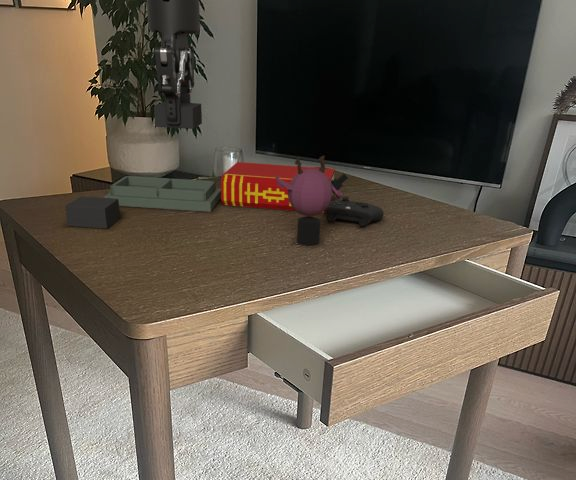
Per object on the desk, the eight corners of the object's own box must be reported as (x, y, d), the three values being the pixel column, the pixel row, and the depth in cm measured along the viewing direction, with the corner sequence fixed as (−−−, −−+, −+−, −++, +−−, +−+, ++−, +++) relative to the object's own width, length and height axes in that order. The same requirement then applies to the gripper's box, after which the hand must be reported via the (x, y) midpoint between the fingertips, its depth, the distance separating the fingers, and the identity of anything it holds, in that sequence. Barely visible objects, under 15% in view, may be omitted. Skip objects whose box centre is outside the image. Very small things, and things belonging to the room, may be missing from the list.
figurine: (343, 239, 89) (350, 154, 83) (323, 254, 83) (330, 164, 77) (294, 231, 92) (298, 148, 86) (271, 244, 86) (273, 156, 80)
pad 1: (67, 226, 90) (64, 205, 88) (83, 215, 95) (80, 196, 93) (107, 228, 89) (104, 208, 88) (120, 218, 94) (118, 198, 93)
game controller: (385, 213, 99) (382, 192, 94) (377, 242, 98) (373, 222, 93) (330, 206, 102) (324, 185, 97) (321, 233, 101) (315, 214, 96)
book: (221, 206, 103) (220, 175, 101) (237, 189, 114) (237, 161, 111) (326, 214, 101) (328, 184, 99) (332, 196, 112) (334, 169, 110)
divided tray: (104, 205, 101) (102, 186, 99) (124, 191, 109) (122, 174, 108) (210, 211, 100) (210, 193, 98) (221, 197, 108) (221, 180, 107)
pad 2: (155, 126, 93) (153, 105, 91) (165, 121, 98) (164, 101, 97) (193, 128, 93) (192, 107, 91) (202, 123, 98) (201, 103, 96)
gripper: (161, -4, 93) (167, 114, 101) (131, -9, 81) (142, 126, 89) (208, -2, 92) (211, 117, 101) (186, -7, 80) (191, 129, 89)
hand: (178, 120), depth 95 cm, fingers closed on pad 2, 6 cm apart
